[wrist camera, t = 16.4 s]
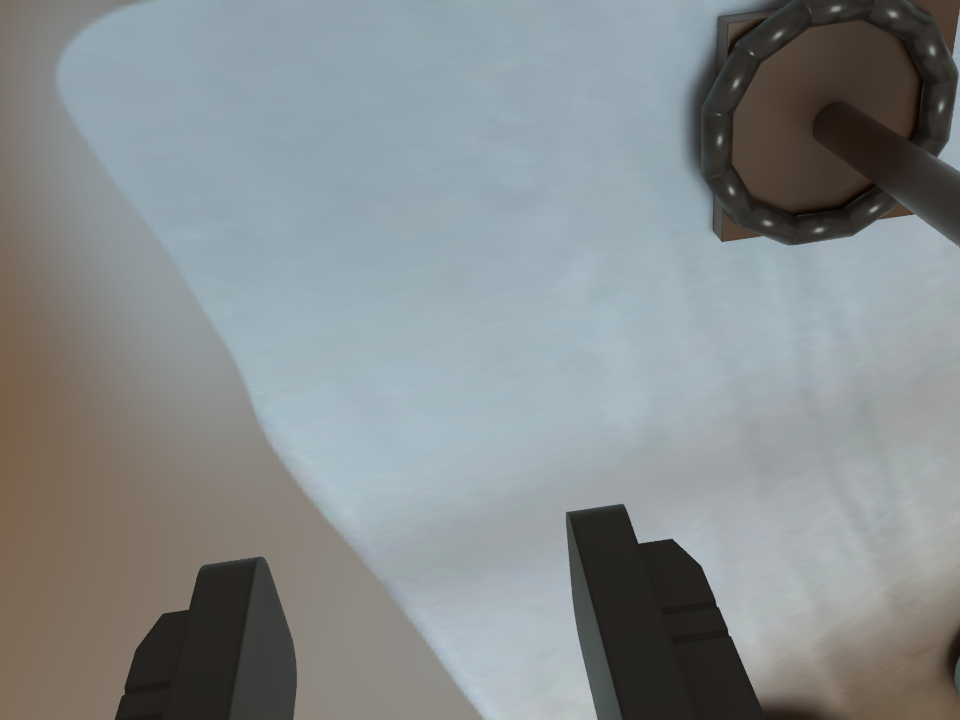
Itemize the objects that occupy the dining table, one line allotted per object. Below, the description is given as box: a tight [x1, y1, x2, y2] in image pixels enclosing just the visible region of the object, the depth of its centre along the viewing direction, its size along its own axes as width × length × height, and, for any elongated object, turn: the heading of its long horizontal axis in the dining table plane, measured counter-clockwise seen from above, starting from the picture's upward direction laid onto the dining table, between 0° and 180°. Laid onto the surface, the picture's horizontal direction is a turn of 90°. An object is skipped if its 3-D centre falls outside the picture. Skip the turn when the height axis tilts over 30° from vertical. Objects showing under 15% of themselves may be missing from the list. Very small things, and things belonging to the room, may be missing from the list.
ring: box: [701, 0, 959, 245], centre depth 35 cm, size 10×10×1 cm
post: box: [713, 0, 960, 247], centre depth 31 cm, size 9×9×14 cm
